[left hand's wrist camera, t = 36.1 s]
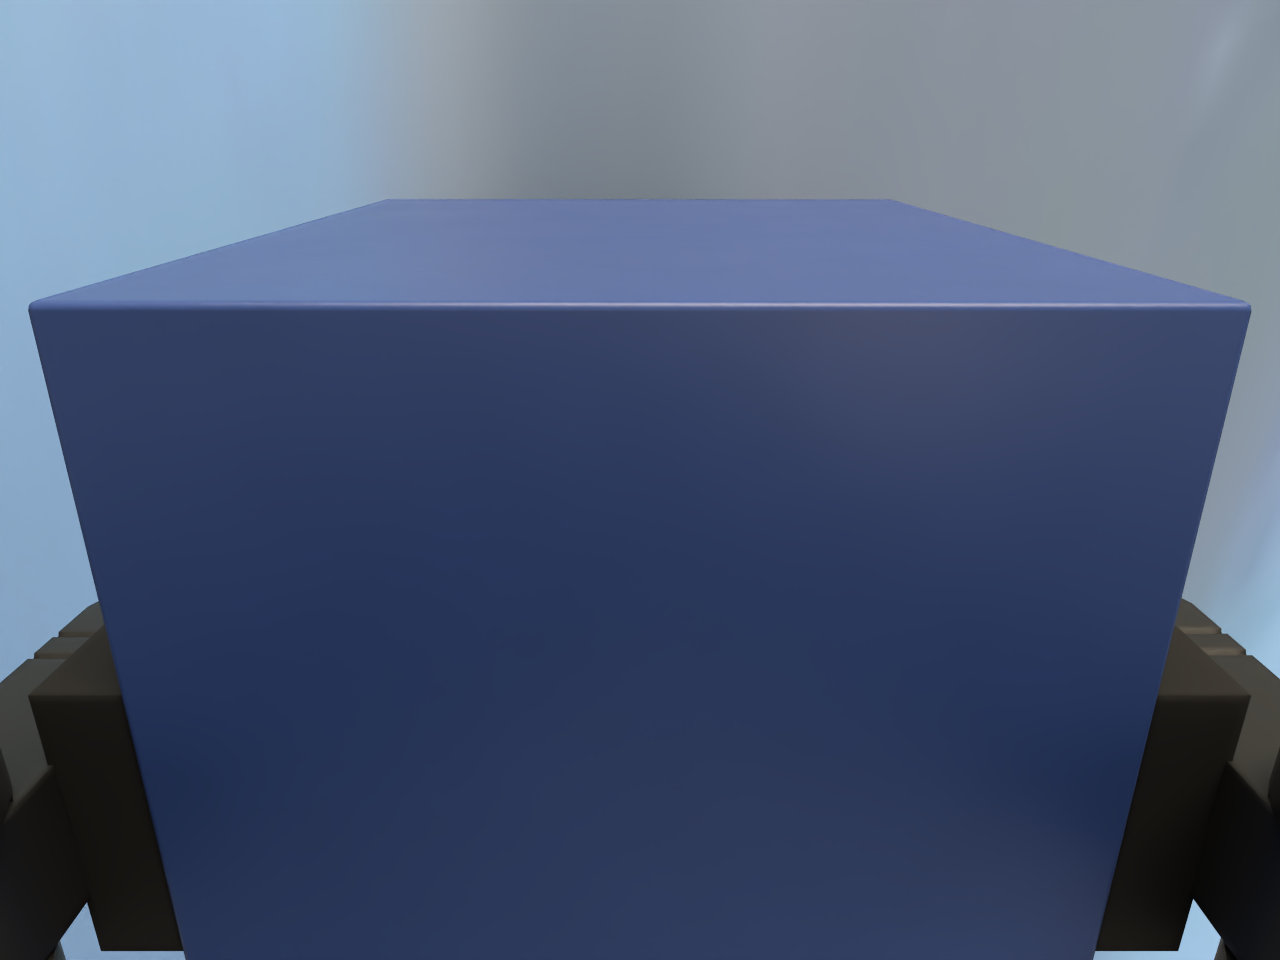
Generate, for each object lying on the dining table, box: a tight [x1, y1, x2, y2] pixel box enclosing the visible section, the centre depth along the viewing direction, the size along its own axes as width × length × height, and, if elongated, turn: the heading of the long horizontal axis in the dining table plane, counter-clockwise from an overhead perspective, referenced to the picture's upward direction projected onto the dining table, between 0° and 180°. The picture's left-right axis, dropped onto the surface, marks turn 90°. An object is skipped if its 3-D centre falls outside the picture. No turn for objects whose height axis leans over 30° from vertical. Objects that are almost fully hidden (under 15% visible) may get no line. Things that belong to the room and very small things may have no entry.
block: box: [28, 199, 1251, 960], centre depth 12 cm, size 9×8×9 cm
